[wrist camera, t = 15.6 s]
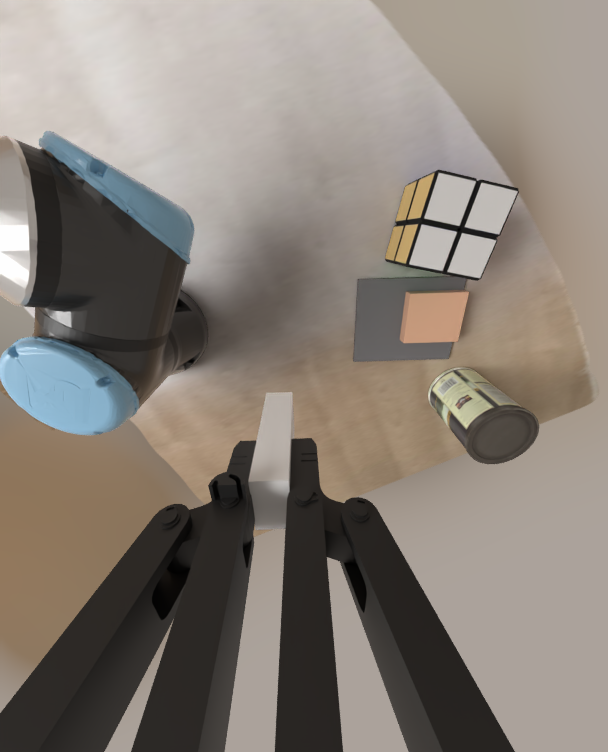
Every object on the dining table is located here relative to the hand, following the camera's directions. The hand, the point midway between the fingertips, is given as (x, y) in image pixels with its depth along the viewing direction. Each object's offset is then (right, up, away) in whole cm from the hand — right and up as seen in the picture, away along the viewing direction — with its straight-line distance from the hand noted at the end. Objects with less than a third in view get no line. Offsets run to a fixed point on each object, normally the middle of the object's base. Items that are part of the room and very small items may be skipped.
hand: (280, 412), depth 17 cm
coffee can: (+30, -1, +37) cm, 48 cm away
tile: (+18, +12, +29) cm, 36 cm away
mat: (+19, +11, +31) cm, 38 cm away
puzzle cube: (+19, +24, +25) cm, 40 cm away
